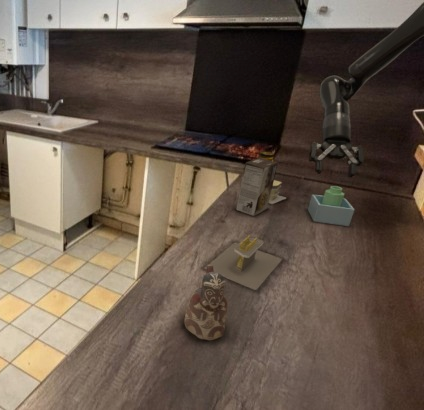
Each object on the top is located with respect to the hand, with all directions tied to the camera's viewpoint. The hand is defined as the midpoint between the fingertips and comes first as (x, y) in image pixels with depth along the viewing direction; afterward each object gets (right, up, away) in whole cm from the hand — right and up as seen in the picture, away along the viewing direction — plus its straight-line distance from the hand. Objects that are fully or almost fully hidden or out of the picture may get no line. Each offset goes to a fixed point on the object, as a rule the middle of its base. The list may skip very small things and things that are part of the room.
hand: (335, 174), depth 111 cm
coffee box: (-23, -11, +6) cm, 26 cm away
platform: (-39, -24, -24) cm, 52 cm away
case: (-2, -13, +1) cm, 14 cm away
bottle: (-2, -13, +1) cm, 13 cm away
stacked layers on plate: (-13, -7, +16) cm, 22 cm away
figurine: (-56, -32, -44) cm, 78 cm away
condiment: (-9, -1, +31) cm, 32 cm away
